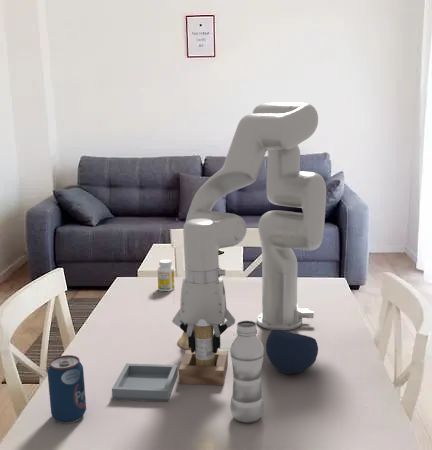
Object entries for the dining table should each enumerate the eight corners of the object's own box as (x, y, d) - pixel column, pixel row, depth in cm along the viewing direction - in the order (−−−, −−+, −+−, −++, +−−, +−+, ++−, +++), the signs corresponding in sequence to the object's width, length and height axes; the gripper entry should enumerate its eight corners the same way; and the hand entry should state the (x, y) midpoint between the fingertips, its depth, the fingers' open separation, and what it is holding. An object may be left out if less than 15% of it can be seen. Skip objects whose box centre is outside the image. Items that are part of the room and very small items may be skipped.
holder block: (227, 364, 143) (227, 351, 142) (223, 385, 133) (223, 370, 132) (186, 363, 144) (185, 349, 143) (179, 383, 134) (178, 369, 133)
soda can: (86, 422, 119) (82, 367, 116) (50, 427, 118) (45, 371, 115) (86, 405, 126) (82, 352, 123) (52, 409, 124) (47, 355, 122)
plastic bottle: (228, 410, 123) (227, 318, 118) (261, 408, 123) (261, 316, 119) (232, 428, 116) (230, 331, 112) (266, 425, 117) (266, 329, 112)
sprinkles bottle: (210, 363, 141) (208, 309, 138) (218, 371, 137) (216, 316, 134) (192, 367, 140) (190, 313, 136) (200, 375, 136) (198, 320, 132)
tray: (177, 375, 138) (177, 365, 137) (168, 401, 126) (167, 391, 126) (126, 373, 139) (126, 363, 139) (112, 399, 128) (111, 388, 127)
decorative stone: (313, 386, 132) (314, 343, 130) (260, 379, 135) (260, 338, 133) (320, 362, 143) (321, 323, 140) (271, 357, 146) (271, 318, 144)
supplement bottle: (164, 293, 193) (163, 264, 191) (155, 289, 197) (153, 260, 195) (177, 289, 196) (176, 261, 194) (168, 285, 200) (167, 257, 198)
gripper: (241, 269, 136) (242, 344, 140) (167, 269, 138) (171, 342, 142) (238, 280, 128) (240, 358, 133) (161, 279, 130) (165, 357, 135)
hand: (204, 349), depth 137 cm, fingers closed on sprinkles bottle, 4 cm apart
